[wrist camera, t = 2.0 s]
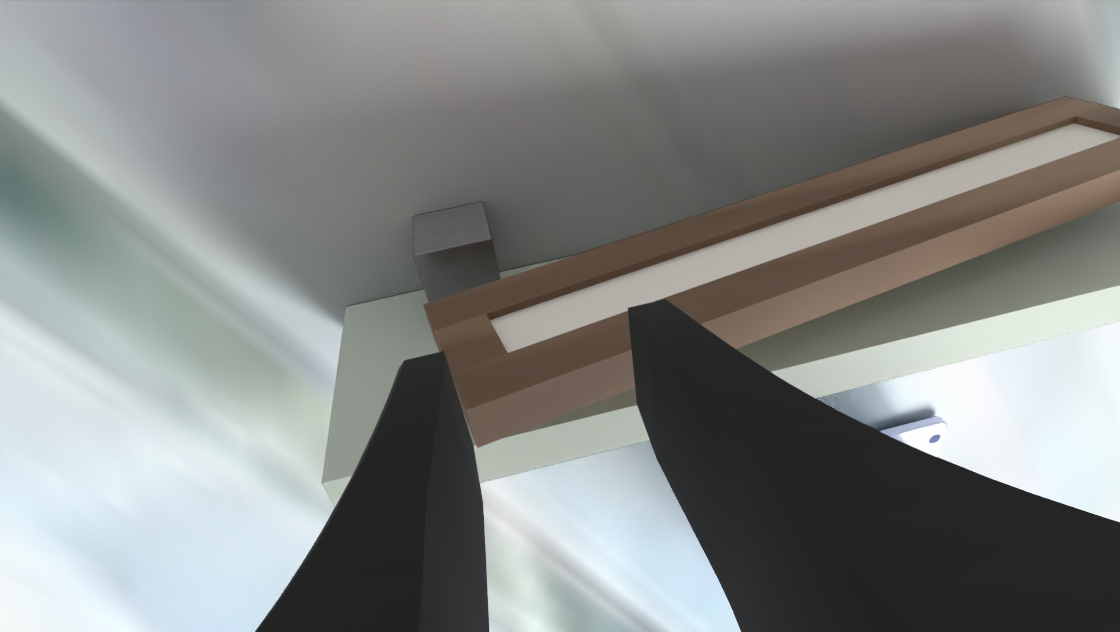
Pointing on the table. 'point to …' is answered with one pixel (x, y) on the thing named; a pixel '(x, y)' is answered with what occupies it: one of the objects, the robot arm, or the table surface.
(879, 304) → the wall panel
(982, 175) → the grooved wooden rail
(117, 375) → the table surface
